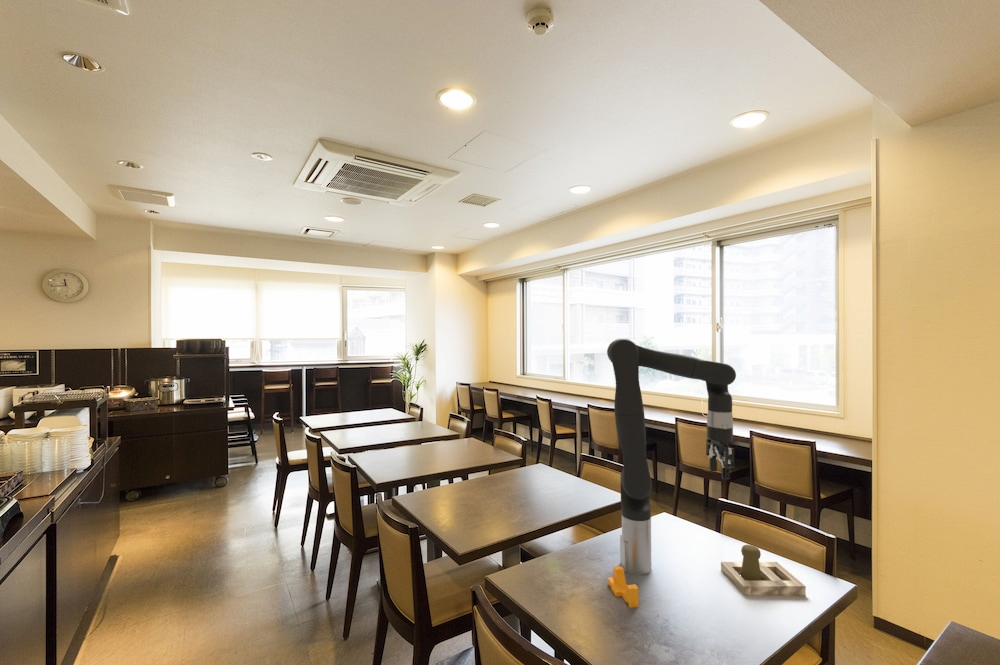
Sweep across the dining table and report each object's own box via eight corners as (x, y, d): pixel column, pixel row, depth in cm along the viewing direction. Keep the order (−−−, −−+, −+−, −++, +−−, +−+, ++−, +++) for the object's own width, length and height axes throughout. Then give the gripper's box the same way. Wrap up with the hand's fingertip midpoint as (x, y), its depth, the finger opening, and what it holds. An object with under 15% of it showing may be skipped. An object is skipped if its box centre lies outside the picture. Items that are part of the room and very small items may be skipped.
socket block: (743, 596, 132) (743, 586, 132) (720, 571, 146) (720, 561, 146) (805, 596, 132) (805, 586, 132) (776, 571, 146) (776, 561, 146)
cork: (743, 574, 143) (743, 540, 143) (764, 582, 139) (764, 546, 139) (737, 582, 139) (736, 546, 139) (758, 590, 135) (758, 553, 135)
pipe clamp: (608, 588, 137) (607, 567, 137) (621, 587, 138) (621, 566, 138) (623, 612, 125) (623, 589, 125) (638, 611, 126) (638, 588, 126)
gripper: (698, 420, 152) (698, 468, 152) (718, 429, 138) (718, 482, 138) (721, 420, 152) (720, 468, 152) (743, 429, 137) (742, 482, 138)
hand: (719, 475), depth 145 cm, fingers open, 8 cm apart
